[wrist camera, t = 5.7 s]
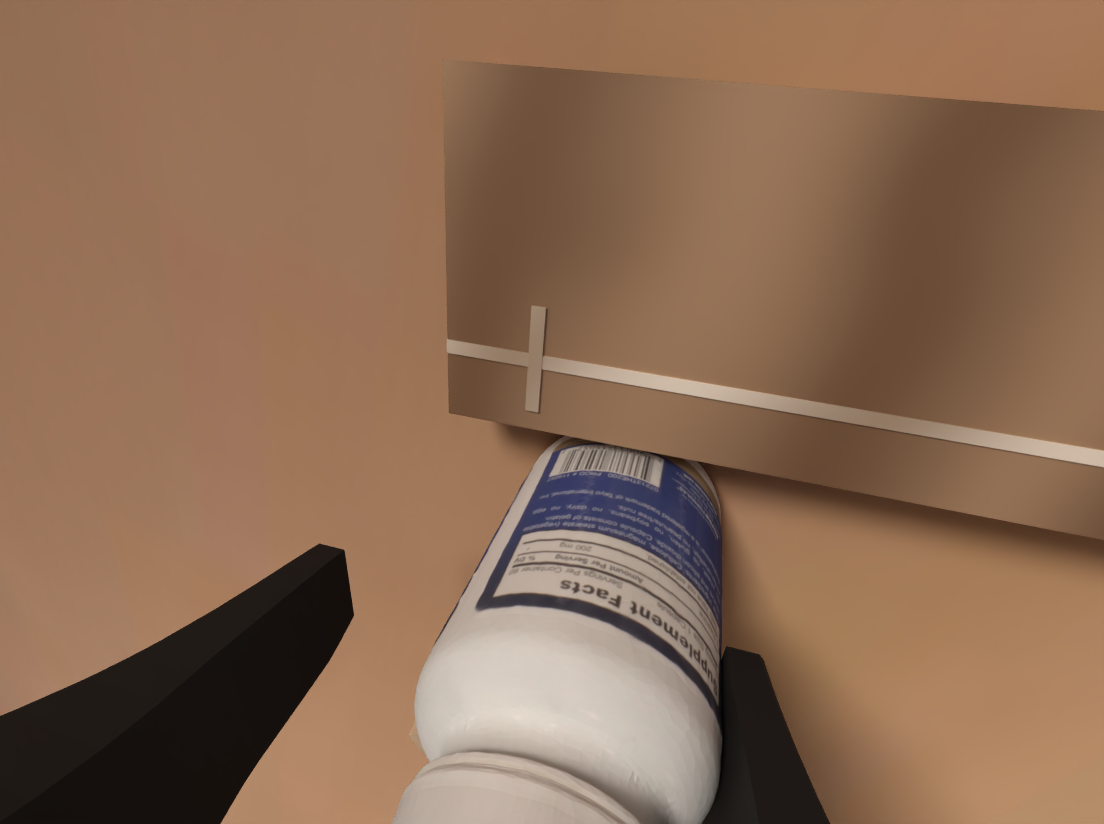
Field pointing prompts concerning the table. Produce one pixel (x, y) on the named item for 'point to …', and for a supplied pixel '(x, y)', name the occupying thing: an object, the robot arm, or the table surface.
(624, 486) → the pill bottle
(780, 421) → the board
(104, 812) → the robot arm
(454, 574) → the table surface
